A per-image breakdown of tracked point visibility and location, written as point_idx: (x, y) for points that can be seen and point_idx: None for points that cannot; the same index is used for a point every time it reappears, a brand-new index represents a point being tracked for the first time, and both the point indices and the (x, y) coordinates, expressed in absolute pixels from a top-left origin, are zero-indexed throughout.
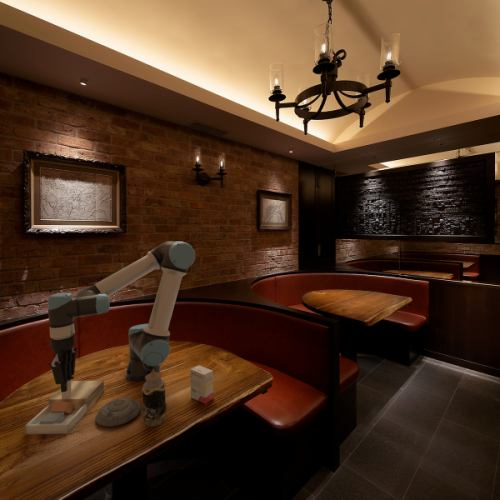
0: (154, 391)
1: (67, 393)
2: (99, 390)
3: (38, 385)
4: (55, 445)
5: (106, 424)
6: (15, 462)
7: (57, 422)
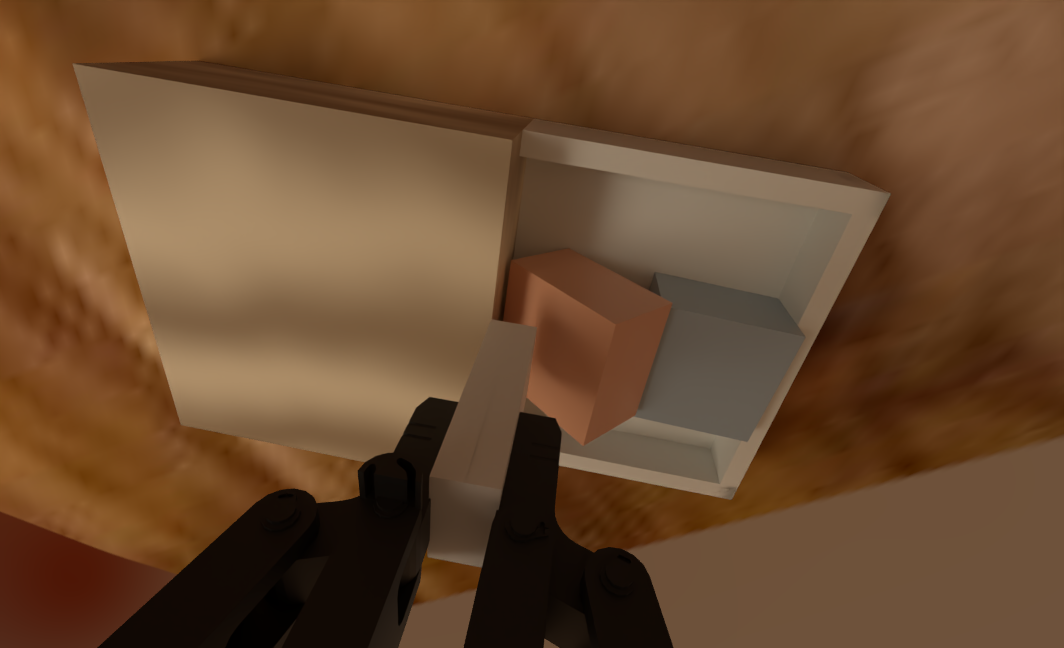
0: None
1: (525, 381)
2: (241, 80)
3: (208, 544)
4: (984, 215)
5: None
6: (1029, 405)
7: (748, 307)
